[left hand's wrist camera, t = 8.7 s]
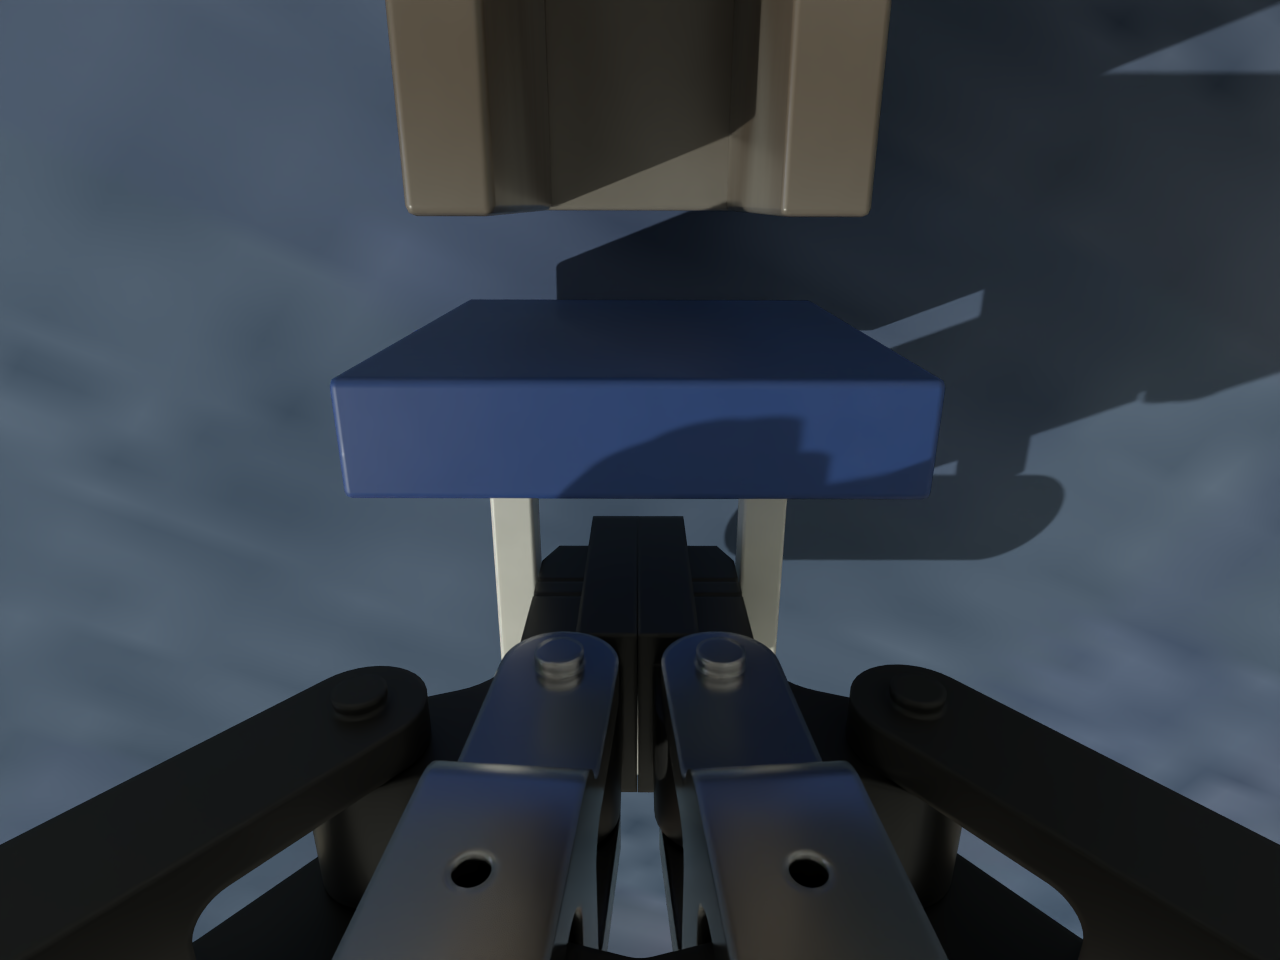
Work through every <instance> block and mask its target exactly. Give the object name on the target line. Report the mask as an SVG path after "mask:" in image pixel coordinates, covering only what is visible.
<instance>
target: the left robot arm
mask: <svg viewBox="0 0 1280 960" xmlns="http://www.w3.org/2000/svg"><path fill="white" fill-rule="evenodd" d="M637 740H638V792H654V812H655V818H656V821H657V823H658V825H659V827H660V830H659V847H660V856H661V863H662V871H663V879H664V887H665V894H666V902H667V910H668V918H669V925H670V933H671V941H672V949H673V952H670V953H666V954H662V955H658V956H654V957H648V958H632V957H626V956H622V955H618V954H614V953H610V952H607V949H608V942H609V934H610V926H611V918H612V911H613V903H614V895H615V887H616V880H617V872H618V864H619V856H620V849H621V822H620V808H621V792H637ZM962 827H963V828H964V829H966V830H967V831H969V832H970V833H972V834H974V835H975V836H977V837H978V838H980V839H981V840H983V841H984V842H986V843H987V844H989V845H990V846H992V847H993V848H995V849H996V850H998V851H999V852H1001V853H1002V854H1004V855H1005V856H1007V857H1009V858H1010V859H1012V860H1013V861H1015V862H1016V863H1018V864H1019V865H1021V866H1022V867H1024V868H1025V869H1027V870H1028V871H1030V872H1031V873H1033V874H1034V875H1036V876H1037V877H1039V878H1040V879H1042V880H1044V881H1045V882H1047V883H1048V884H1049V885H1051V886H1052V887H1053V888H1055V889H1056V890H1057V891H1058V892H1059V893H1060V894H1061V895H1062V896H1063V897H1064V898H1065V899H1066V900H1067V901H1068V902H1069V904H1070V905H1071V906H1072V908H1073V909H1074V911H1075V913H1076V914H1077V916H1078V918H1079V920H1080V923H1081V926H1082V930H1083V939H1081V938H1080V937H1078V936H1077V935H1075V934H1074V933H1072V932H1071V931H1069V930H1068V929H1067V928H1065V927H1064V926H1062V925H1061V924H1059V923H1058V922H1056V921H1055V920H1053V919H1052V918H1051V917H1049V916H1048V915H1046V914H1045V913H1043V912H1042V911H1040V910H1039V909H1037V908H1036V907H1035V906H1033V905H1032V904H1030V903H1029V902H1027V901H1026V900H1024V899H1023V898H1021V897H1020V896H1019V895H1017V894H1016V893H1014V892H1013V891H1011V890H1010V889H1008V888H1007V887H1005V886H1004V885H1003V884H1001V883H1000V882H998V881H997V880H995V879H994V878H992V877H991V876H989V875H988V874H987V873H985V872H984V871H982V870H981V869H979V868H978V867H976V866H975V865H974V864H972V863H971V862H969V861H968V860H966V859H965V858H963V857H962V856H960V855H959V854H958V853H957V850H958V845H959V840H960V834H961V829H962ZM311 831H313V833H314V839H315V844H316V849H317V854H318V857H317V858H315V859H314V860H313V861H311V862H310V863H308V864H307V865H305V866H304V867H302V868H301V869H299V870H298V871H297V872H295V873H294V874H292V875H291V876H289V877H288V878H286V879H285V880H283V881H282V882H281V883H279V884H278V885H276V886H275V887H273V888H272V889H270V890H269V891H267V892H266V893H265V894H263V895H262V896H260V897H259V898H257V899H256V900H254V901H253V902H251V903H250V904H249V905H247V906H246V907H244V908H243V909H241V910H240V911H238V912H237V913H235V914H234V915H233V916H231V917H230V918H228V919H227V920H225V921H224V922H222V923H221V924H219V925H218V926H217V927H215V928H214V929H212V930H211V931H209V932H208V933H206V934H205V935H203V936H202V937H201V938H199V939H198V940H196V941H194V942H193V943H192V936H193V931H194V927H195V925H196V922H197V920H198V918H199V917H200V915H201V913H202V912H203V910H204V909H205V908H206V906H207V905H208V904H209V903H210V901H211V900H212V899H213V898H214V897H215V896H216V895H218V894H219V893H220V892H221V891H222V890H224V889H225V888H226V887H228V886H229V885H231V884H232V883H234V882H235V881H237V880H238V879H240V878H241V877H243V876H244V875H246V874H247V873H249V872H250V871H252V870H253V869H255V868H256V867H258V866H260V865H261V864H263V863H264V862H266V861H267V860H269V859H270V858H272V857H273V856H275V855H276V854H278V853H279V852H281V851H282V850H284V849H285V848H287V847H288V846H290V845H291V844H293V843H295V842H296V841H298V840H299V839H301V838H302V837H304V836H305V835H307V834H308V833H310V832H311ZM0 960H1280V845H1279V844H1277V843H1275V842H1273V841H1271V840H1269V839H1267V838H1265V837H1263V836H1261V835H1259V834H1257V833H1255V832H1253V831H1251V830H1250V829H1248V828H1246V827H1244V826H1242V825H1240V824H1238V823H1236V822H1234V821H1232V820H1230V819H1228V818H1226V817H1224V816H1222V815H1220V814H1218V813H1216V812H1214V811H1212V810H1210V809H1208V808H1206V807H1204V806H1202V805H1200V804H1198V803H1196V802H1194V801H1192V800H1191V799H1189V798H1187V797H1185V796H1183V795H1181V794H1179V793H1177V792H1175V791H1173V790H1171V789H1169V788H1167V787H1165V786H1163V785H1161V784H1159V783H1157V782H1155V781H1153V780H1151V779H1149V778H1147V777H1145V776H1143V775H1141V774H1139V773H1137V772H1135V771H1133V770H1131V769H1130V768H1128V767H1126V766H1124V765H1122V764H1120V763H1118V762H1116V761H1114V760H1112V759H1110V758H1108V757H1106V756H1104V755H1102V754H1100V753H1098V752H1096V751H1094V750H1092V749H1090V748H1088V747H1086V746H1084V745H1082V744H1080V743H1078V742H1076V741H1074V740H1072V739H1070V738H1069V737H1067V736H1065V735H1063V734H1061V733H1059V732H1057V731H1055V730H1053V729H1051V728H1049V727H1047V726H1045V725H1043V724H1041V723H1039V722H1037V721H1035V720H1033V719H1031V718H1029V717H1027V716H1025V715H1023V714H1021V713H1019V712H1017V711H1015V710H1013V709H1011V708H1009V707H1008V706H1006V705H1004V704H1002V703H1000V702H998V701H996V700H994V699H992V698H990V697H988V696H986V695H984V694H982V693H980V692H978V691H976V690H974V689H972V688H970V687H968V686H966V685H964V684H962V683H960V682H958V681H956V680H954V679H952V678H950V677H948V676H946V675H944V674H941V673H939V672H936V671H933V670H930V669H926V668H922V667H917V666H910V665H883V666H877V667H874V668H870V669H868V670H866V671H864V672H862V673H861V674H860V675H858V676H857V677H856V678H855V680H854V681H853V683H852V685H851V689H850V698H849V697H844V696H839V695H834V694H830V693H825V692H820V691H815V690H811V689H807V688H804V687H801V686H798V685H795V684H793V683H791V682H789V681H787V679H786V676H785V674H784V672H783V669H782V667H781V665H780V663H779V660H778V659H777V657H776V655H775V654H774V653H773V652H772V651H771V650H770V649H769V648H768V647H767V646H765V645H764V644H762V643H760V642H759V641H757V640H755V639H754V638H753V634H752V630H751V626H750V622H749V618H748V614H747V610H746V607H745V603H744V599H743V597H742V591H741V587H740V583H739V582H738V576H737V572H736V568H735V564H734V561H733V560H732V559H731V558H730V557H729V556H728V555H726V554H725V553H724V552H723V551H722V550H721V549H719V548H718V547H717V546H687V541H686V533H685V526H684V519H683V516H593V520H592V527H591V533H590V540H589V546H559V547H558V548H557V549H555V550H554V551H553V552H552V553H551V554H550V555H548V556H547V557H546V558H545V559H544V560H543V561H542V564H541V568H540V571H539V575H538V582H536V586H535V590H534V596H533V597H532V601H531V605H530V608H529V612H528V616H527V619H526V623H525V627H524V631H523V634H522V638H521V642H520V643H518V644H516V645H515V646H514V647H512V648H511V649H510V650H509V651H508V652H507V653H506V654H505V655H504V657H503V659H502V661H501V663H500V665H499V667H498V670H497V672H496V674H495V677H493V678H492V679H490V680H488V681H486V682H483V683H481V684H479V685H476V686H473V687H470V688H466V689H462V690H458V691H453V692H448V693H444V694H439V695H434V696H429V697H428V696H427V688H426V686H425V683H424V682H423V681H422V679H421V678H420V677H418V676H417V675H416V674H414V673H412V672H410V671H408V670H405V669H402V668H397V667H391V666H372V667H364V668H358V669H354V670H350V671H346V672H343V673H340V674H337V675H335V676H333V677H330V678H328V679H326V680H324V681H322V682H320V683H318V684H316V685H314V686H312V687H310V688H308V689H306V690H304V691H302V692H300V693H298V694H296V695H294V696H292V697H290V698H288V699H286V700H285V701H283V702H281V703H279V704H277V705H275V706H273V707H271V708H269V709H267V710H265V711H263V712H261V713H259V714H257V715H255V716H253V717H251V718H249V719H247V720H245V721H243V722H241V723H239V724H237V725H235V726H233V727H231V728H229V729H227V730H225V731H223V732H222V733H220V734H218V735H216V736H214V737H212V738H210V739H208V740H206V741H204V742H202V743H200V744H198V745H196V746H194V747H192V748H190V749H188V750H186V751H184V752H182V753H180V754H178V755H176V756H174V757H172V758H170V759H168V760H166V761H164V762H162V763H161V764H159V765H157V766H155V767H153V768H151V769H149V770H147V771H145V772H143V773H141V774H139V775H137V776H135V777H133V778H131V779H129V780H127V781H125V782H123V783H121V784H119V785H117V786H115V787H113V788H111V789H109V790H107V791H105V792H103V793H101V794H100V795H98V796H96V797H94V798H92V799H90V800H88V801H86V802H84V803H82V804H80V805H78V806H76V807H74V808H72V809H70V810H68V811H66V812H64V813H62V814H60V815H58V816H56V817H54V818H52V819H50V820H48V821H46V822H44V823H42V824H40V825H38V826H37V827H35V828H33V829H31V830H29V831H27V832H25V833H23V834H21V835H19V836H17V837H15V838H13V839H11V840H9V841H7V842H5V843H3V844H1V845H0Z"/></svg>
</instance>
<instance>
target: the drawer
mask: <svg viewBox="0 0 1280 960" xmlns="http://www.w3.org/2000/svg"><path fill="white" fill-rule="evenodd" d="M891 2H892V0H385V4H386V14H387V24H388V34H389V45H390V55H391V65H392V75H393V85H394V96H395V106H396V116H397V126H398V136H399V147H400V157H401V167H402V177H403V188H404V198H405V206H406V208H407V210H408V212H409V213H411V214H413V215H415V216H493V215H503V214H513V213H524V212H534V211H544V210H676V211H738V212H748V213H757V214H766V215H775V216H784V217H863V216H866V215H868V213H869V211H870V209H871V202H872V192H873V182H874V172H875V162H876V152H877V142H878V132H879V122H880V112H881V102H882V92H883V82H884V72H885V62H886V52H887V42H888V32H889V22H890V12H891ZM330 391H331V398H332V405H333V412H334V419H335V426H336V434H337V441H338V448H339V455H340V462H341V469H342V476H343V483H344V490H345V493H346V495H347V496H349V497H352V498H490V502H491V516H492V530H493V545H494V559H495V573H496V587H497V601H498V615H499V630H500V644H501V658H502V659H503V657H504V655H505V654H506V653H507V652H508V651H509V650H510V649H511V648H512V647H514V646H515V645H516V644H518V643H520V642H521V638H522V634H523V631H524V627H525V623H526V619H527V616H528V612H529V608H530V605H531V601H532V597H533V596H534V590H535V586H536V582H538V575H539V571H540V568H541V564H542V563H541V541H540V520H539V499H538V498H607V499H739V503H738V523H737V543H736V563H735V568H736V572H737V576H738V582H739V583H740V587H741V591H742V597H743V599H744V603H745V607H746V610H747V614H748V618H749V622H750V626H751V630H752V634H753V638H754V639H755V640H757V641H759V642H760V643H762V644H764V645H765V646H767V647H768V648H769V649H770V650H771V651H772V652H773V653H774V654H775V655H776V641H777V628H778V614H779V600H780V587H781V573H782V559H783V546H784V532H785V519H786V505H787V499H925V498H928V496H929V494H930V492H931V485H932V478H933V471H934V464H935V457H936V450H937V443H938V436H939V429H940V422H941V415H942V408H943V401H944V394H945V385H944V382H943V380H941V379H939V378H938V377H936V376H934V375H933V374H931V373H929V372H928V371H926V370H924V369H923V368H921V367H919V366H918V365H916V364H914V363H913V362H911V361H909V360H908V359H906V358H904V357H903V356H901V355H899V354H898V353H896V352H894V351H893V350H891V349H889V348H888V347H886V346H884V345H882V344H881V343H879V342H877V341H876V340H874V339H872V338H871V337H869V336H867V335H866V334H864V333H862V332H861V331H859V330H857V329H856V328H854V327H852V326H851V325H849V324H847V323H846V322H844V321H842V320H841V319H839V318H837V317H836V316H834V315H832V314H831V313H829V312H827V311H826V310H824V309H822V308H820V307H819V306H817V305H815V304H814V303H812V302H810V301H808V300H469V301H467V302H465V303H464V304H462V305H460V306H459V307H457V308H455V309H453V310H452V311H450V312H448V313H446V314H445V315H443V316H441V317H439V318H438V319H436V320H434V321H432V322H431V323H429V324H427V325H425V326H424V327H422V328H420V329H419V330H417V331H415V332H413V333H412V334H410V335H408V336H406V337H405V338H403V339H401V340H399V341H398V342H396V343H394V344H392V345H391V346H389V347H387V348H385V349H384V350H382V351H380V352H379V353H377V354H375V355H373V356H372V357H370V358H368V359H366V360H365V361H363V362H361V363H359V364H358V365H356V366H354V367H352V368H351V369H349V370H347V371H345V372H344V373H342V374H340V375H339V376H337V377H335V378H333V379H332V381H331V384H330ZM496 672H497V671H496ZM495 674H496V673H495ZM494 677H495V676H494ZM637 774H638V740H637Z"/></svg>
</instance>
